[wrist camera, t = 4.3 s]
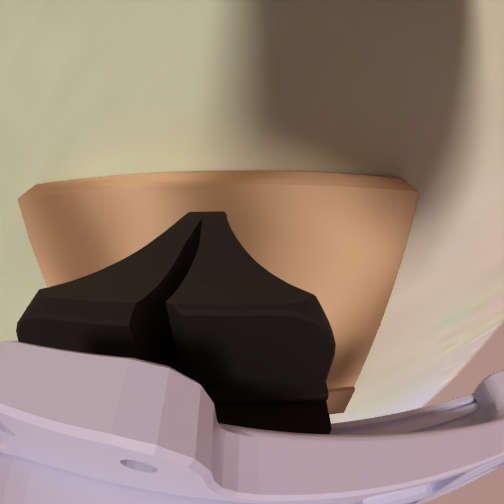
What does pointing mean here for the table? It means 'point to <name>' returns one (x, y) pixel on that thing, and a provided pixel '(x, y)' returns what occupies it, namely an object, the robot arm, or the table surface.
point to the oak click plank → (244, 234)
